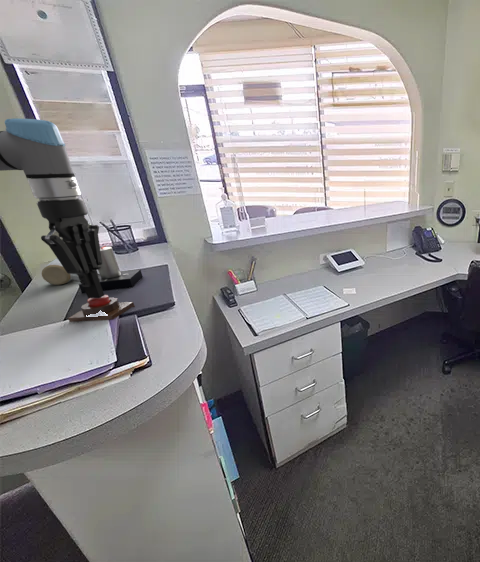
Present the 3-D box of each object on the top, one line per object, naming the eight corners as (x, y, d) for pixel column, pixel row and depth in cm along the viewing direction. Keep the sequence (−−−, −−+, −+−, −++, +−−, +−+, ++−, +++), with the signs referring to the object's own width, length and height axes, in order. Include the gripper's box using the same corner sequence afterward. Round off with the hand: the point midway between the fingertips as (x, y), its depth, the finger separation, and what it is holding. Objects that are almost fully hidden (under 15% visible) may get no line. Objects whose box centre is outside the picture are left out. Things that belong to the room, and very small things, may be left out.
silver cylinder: (117, 277, 97) (107, 248, 94) (98, 279, 96) (87, 250, 92) (123, 272, 102) (114, 245, 98) (105, 274, 100) (95, 246, 97)
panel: (81, 293, 93) (78, 284, 92) (97, 282, 102) (93, 273, 101) (132, 287, 97) (129, 278, 96) (143, 277, 106) (140, 268, 105)
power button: (85, 308, 75) (82, 301, 74) (97, 301, 79) (95, 295, 78) (102, 307, 75) (100, 300, 75) (114, 300, 79) (112, 294, 78)
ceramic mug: (44, 287, 98) (34, 264, 96) (56, 279, 105) (48, 258, 103) (86, 282, 102) (78, 260, 100) (95, 275, 109) (88, 254, 107)
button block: (71, 326, 74) (64, 311, 73) (96, 311, 82) (91, 297, 80) (114, 323, 75) (109, 309, 73) (135, 309, 82) (131, 295, 81)
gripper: (51, 201, 62) (91, 307, 70) (100, 195, 74) (129, 286, 82) (11, 202, 61) (56, 309, 70) (67, 195, 73) (100, 287, 82)
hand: (96, 296), depth 76 cm, fingers closed
